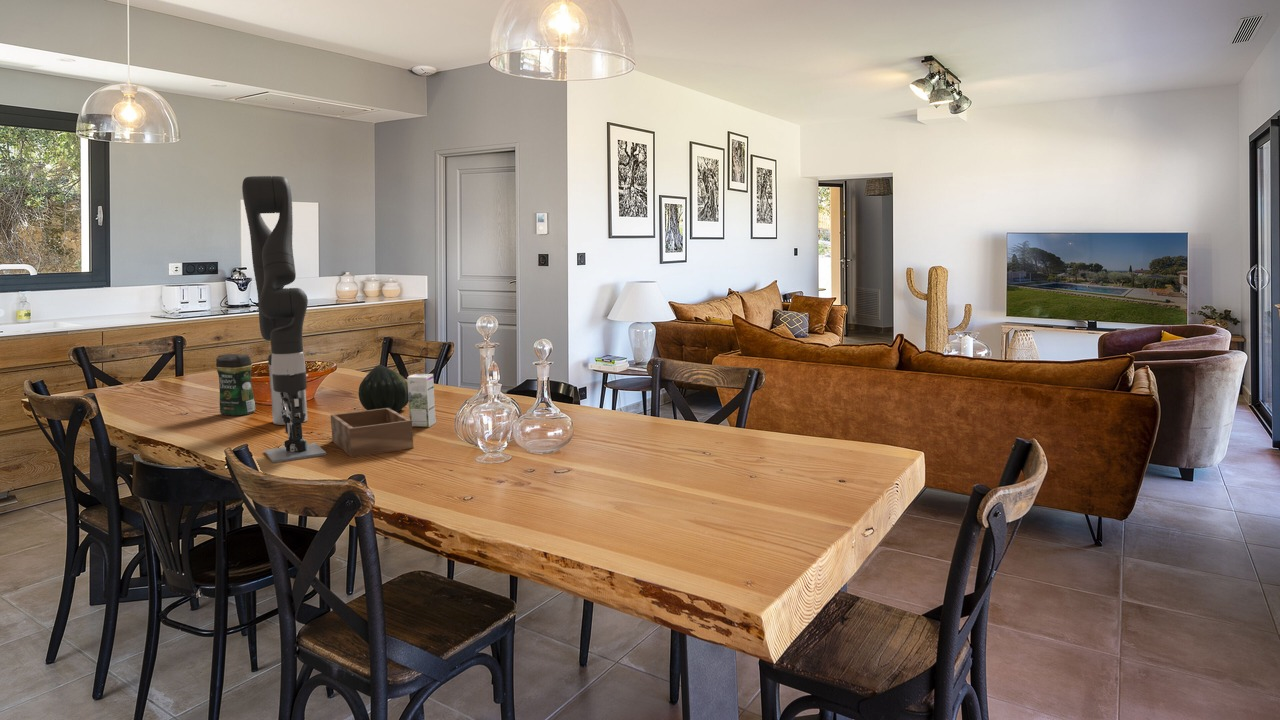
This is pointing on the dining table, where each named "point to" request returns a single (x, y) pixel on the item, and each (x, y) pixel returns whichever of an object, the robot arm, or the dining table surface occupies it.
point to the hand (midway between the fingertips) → (294, 436)
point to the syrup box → (421, 400)
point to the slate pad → (294, 453)
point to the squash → (383, 390)
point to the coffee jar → (235, 384)
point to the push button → (292, 444)
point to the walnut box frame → (371, 432)
